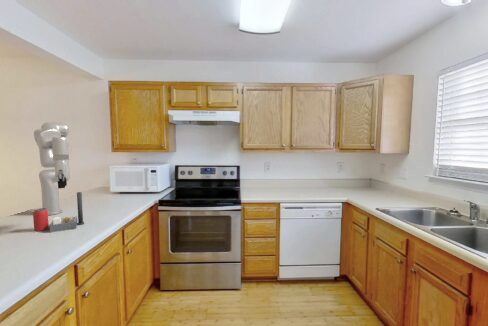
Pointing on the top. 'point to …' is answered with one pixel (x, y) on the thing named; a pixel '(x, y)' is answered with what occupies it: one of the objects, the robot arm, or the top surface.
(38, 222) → the beer can
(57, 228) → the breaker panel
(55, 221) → the white block
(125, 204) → the top surface
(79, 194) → the post
